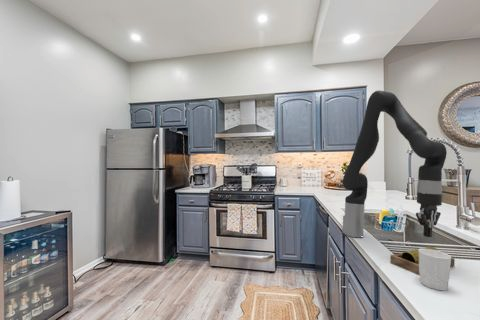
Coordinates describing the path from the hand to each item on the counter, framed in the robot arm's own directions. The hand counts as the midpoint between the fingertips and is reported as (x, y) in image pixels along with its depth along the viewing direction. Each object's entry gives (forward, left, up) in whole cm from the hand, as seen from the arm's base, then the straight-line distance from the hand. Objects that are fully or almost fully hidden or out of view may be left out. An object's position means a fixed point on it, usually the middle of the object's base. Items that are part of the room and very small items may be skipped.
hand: (427, 236), depth 88 cm
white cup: (+10, -17, -11) cm, 22 cm away
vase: (0, +3, -7) cm, 8 cm away
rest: (0, -2, -10) cm, 11 cm away
